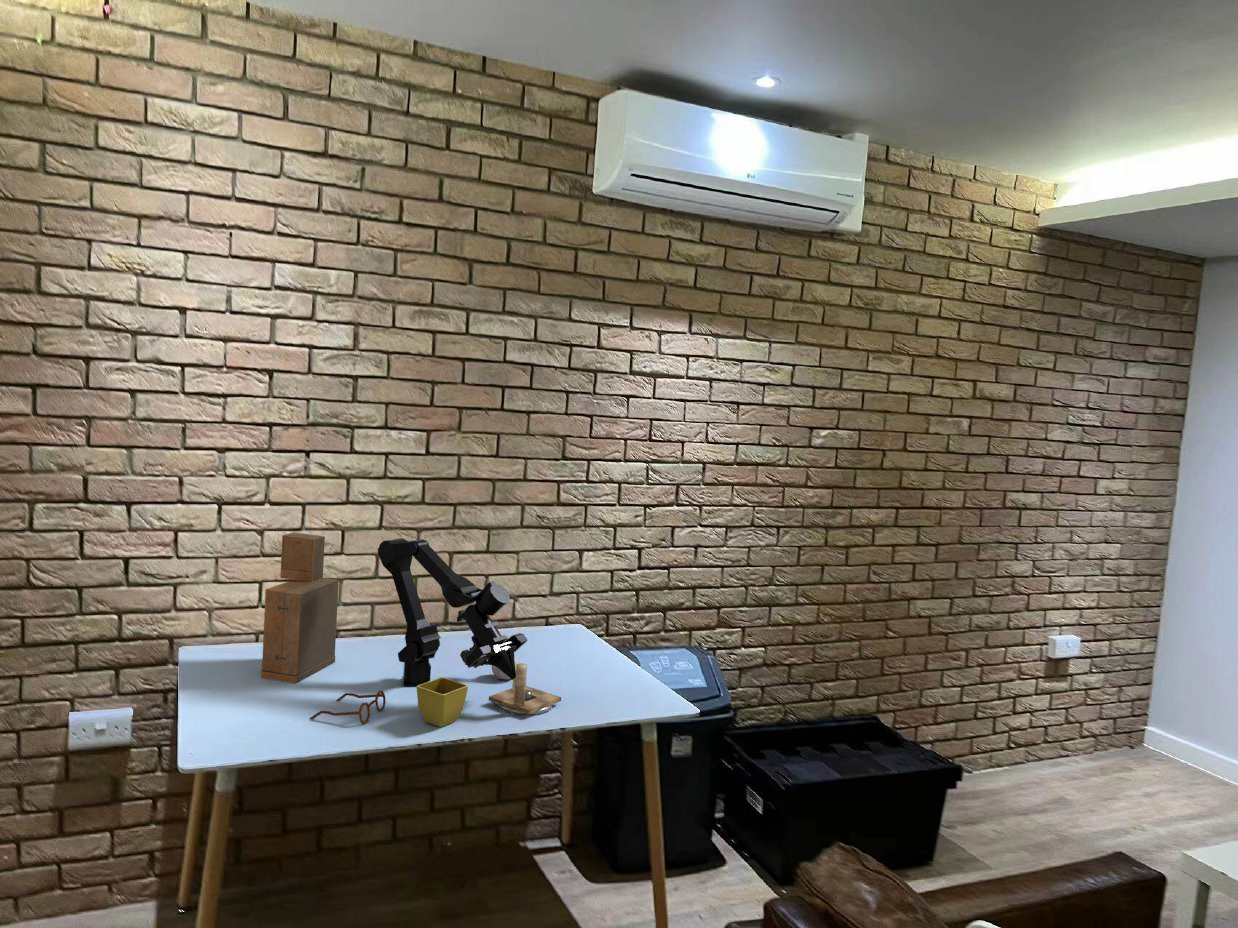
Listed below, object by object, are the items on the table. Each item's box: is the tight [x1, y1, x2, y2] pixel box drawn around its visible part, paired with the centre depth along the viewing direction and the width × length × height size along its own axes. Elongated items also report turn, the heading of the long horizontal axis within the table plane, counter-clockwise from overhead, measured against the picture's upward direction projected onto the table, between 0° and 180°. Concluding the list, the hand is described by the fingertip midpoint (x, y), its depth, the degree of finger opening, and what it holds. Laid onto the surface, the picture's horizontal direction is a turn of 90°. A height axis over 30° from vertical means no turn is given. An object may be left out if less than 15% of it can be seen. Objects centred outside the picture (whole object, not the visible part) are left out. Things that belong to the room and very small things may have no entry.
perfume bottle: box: [491, 636, 520, 681], centre depth 243 cm, size 8×10×12 cm
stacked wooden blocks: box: [260, 532, 340, 684], centre depth 237 cm, size 19×14×35 cm
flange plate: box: [488, 662, 562, 714], centre depth 224 cm, size 13×13×11 cm
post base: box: [496, 678, 554, 716], centre depth 226 cm, size 14×17×4 cm
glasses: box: [309, 690, 387, 725], centre depth 211 cm, size 13×13×5 cm
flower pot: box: [416, 676, 469, 728], centre depth 209 cm, size 9×9×9 cm
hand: (514, 678), depth 218 cm, fingers closed
